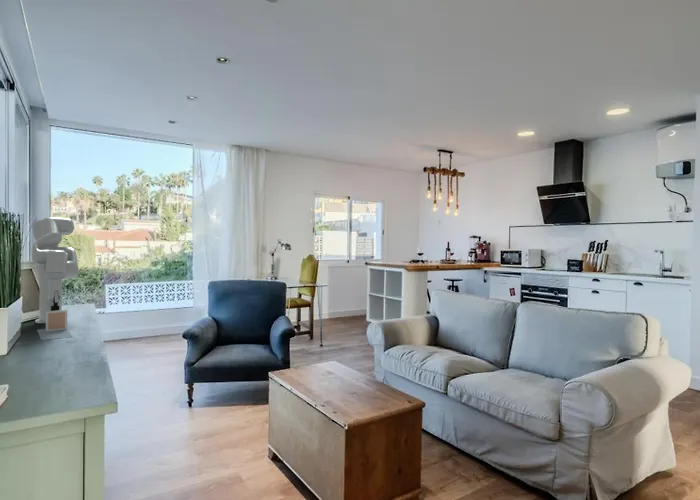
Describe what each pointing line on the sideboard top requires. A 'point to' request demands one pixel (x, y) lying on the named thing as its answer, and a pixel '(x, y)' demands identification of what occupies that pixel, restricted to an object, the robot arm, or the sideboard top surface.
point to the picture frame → (56, 320)
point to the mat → (53, 334)
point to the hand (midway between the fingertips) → (55, 314)
